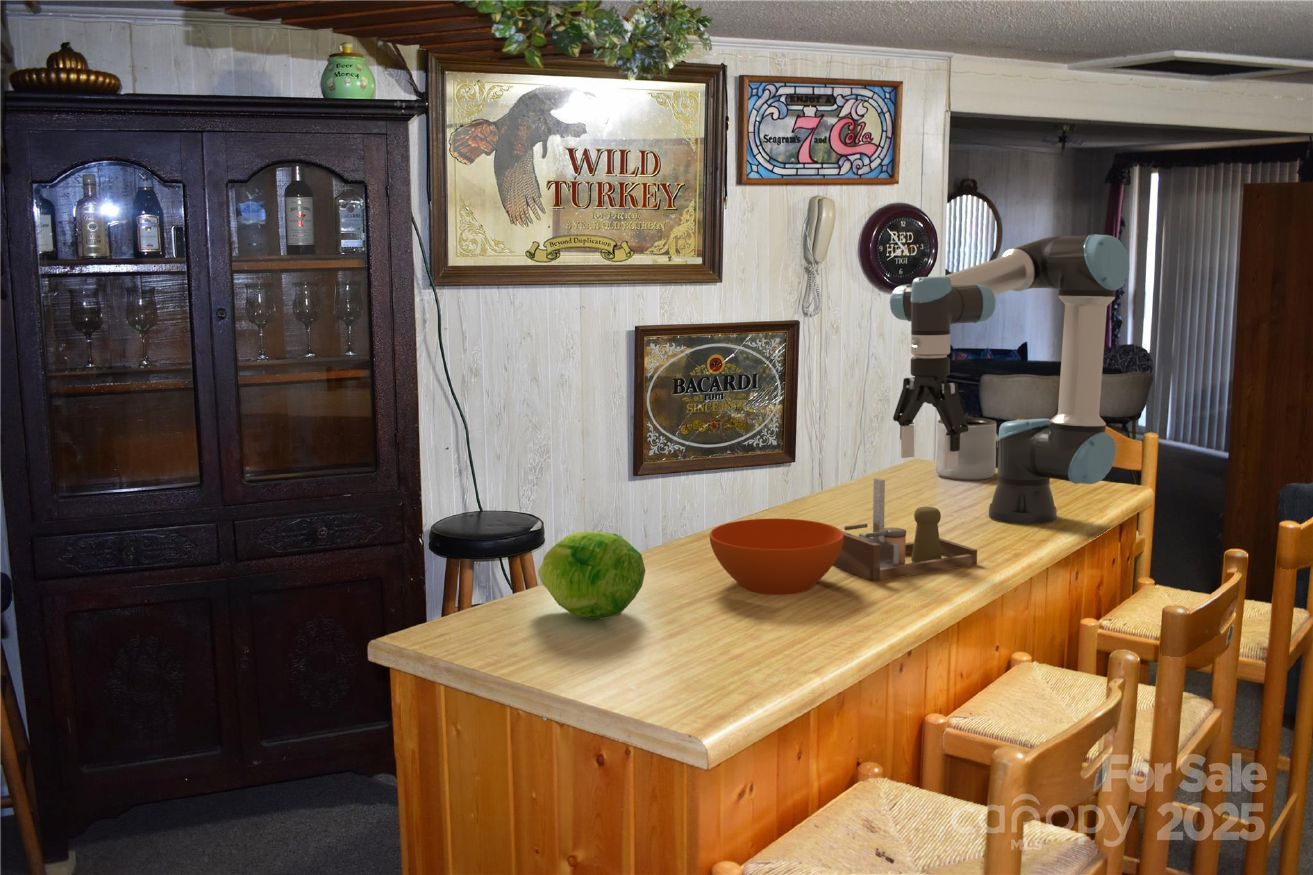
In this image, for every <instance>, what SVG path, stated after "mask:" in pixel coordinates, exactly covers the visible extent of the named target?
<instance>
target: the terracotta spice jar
mask: <svg viewBox="0 0 1313 875" xmlns="http://www.w3.org/2000/svg"><path fill="white" fill-rule="evenodd" d="M884 531H889V535H884V540H886V541H889V542H892V543H895V544H897V545H899V565H903V564H906V555H905V543H907V542H906V540H907V538H906V536H907V530H906V529H905V528H903V527H893V526H892V527H884Z"/></svg>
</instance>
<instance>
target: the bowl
mask: <svg viewBox="0 0 1313 875" xmlns="http://www.w3.org/2000/svg"><path fill="white" fill-rule="evenodd" d="M842 531H843V530H841V528H838V527H837V526H835V525H831V524H827V523H823V522H819V521H814V520H805V519H799V518H798V519H797V518H754V519H745V520H737V521H732V522H727V523H724V524H721V525H719V526H716V527H714V528H713V529H711V531H710V533H709V542H710V546H711V550H712V551H713V553H714V556H715V557H716V559H717V561H718V562H719V564H720V565H721V567H722V568H723V569H724V570H725V572H727V574H728V575H729V576H730V577H731V578H732V579H733V580H734V581H735V582H736V583H737V584H738V585H739V587H741V588H742V589H743V590H745V591H748V592H751V593H754V594H755V593H756V594H760V595H768V596H769V595H772V596H785V595H795V594H800V593H804V592H808V591H810V590H811V589H813V588H814V586H815V585H816V584H817V583H818V582H819V581H820V580H821V579H822V578H824V576H825V575H826V574H827V573H828V572H829V570H831V569H832V567H833V566H834V565H833V564H834V563H835V561H836V560H837V558H838V556H839V554H840V552H841V549H842V546H843V542H844V534H843V532H844V531H843V532H842Z"/></svg>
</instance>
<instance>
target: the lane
mask: <svg viewBox="0 0 1313 875" xmlns="http://www.w3.org/2000/svg"><path fill="white" fill-rule="evenodd" d="M843 528H844V530H841V531H842V532H843V534H844V542H843V546H842V549H841V552H840V554H839V556H838V558H837V560H836V561H835V563H834V564H833V566H834V567H837V568H839V569H841V570H844V571H847V572H849V573H852V574H854V575H857V576H859V577H862V578H864V579H867V580H869V581H871V582H878V581H885V580H891V579H896V578H903V577H908V576H915V575H921V574H927V573H935V572H938V571H945V570H950V569H951V570H952V569H958V568H964V567H969V566H976V565H978V549H976V548H972V547H970V546H966V545H963V544H961V543H957V542H953V541H950V540H947V539H945V538H941V537H939V540H940V548H941V556H944V557H942V558H941V559H935V560H928V561H922V562H916V563H914V562H911V563H905V564H903V565H897V566H890V567H884V568H880V544H877V543H874V542H872V541H869V540H866V539H863V538H860V537H859V536H857V535H855V534H851V533H848V532H846V531H852V530H859V529H865V528H868V523H861V524H851V525H846V526H844V527H843ZM883 535H889V531H881V532H874V533H873V532H869V533H868V532H867V533H866V534H865V536H866V538H869V537H876V536H883ZM913 546H914V541H912V542H911V541H910V542H905V556H906V555H912V552H913Z"/></svg>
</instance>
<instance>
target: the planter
mask: <svg viewBox="0 0 1313 875" xmlns="http://www.w3.org/2000/svg"><path fill="white" fill-rule="evenodd" d="M965 419H966V422H967V425H968V432H964V433H961V435H960V450H959V451H958V467H955V468H944V467H945V435H946V433H947V430H946V428H945V426H944V424H943V422H942V419H941V418H940V419H938V420H937V428H936V431H937V432H936V434H937V435H936V454H935V455H936V456H935V472H936V474H937V475H938V476H939V477H940V478H941V477H942V479H943V478H944V479H947V480H955V481H985V480H989V479H991V478H992V477H994V476H995V475H996V472H997V469H996V468H997V465H996V463H997V460H996V459H997V422H996V420H992V419H990V418H989V419H988V418H983V417H982V418H981V417H966V416H965ZM960 426H961V425H960ZM952 428H953V427H952Z"/></svg>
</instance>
